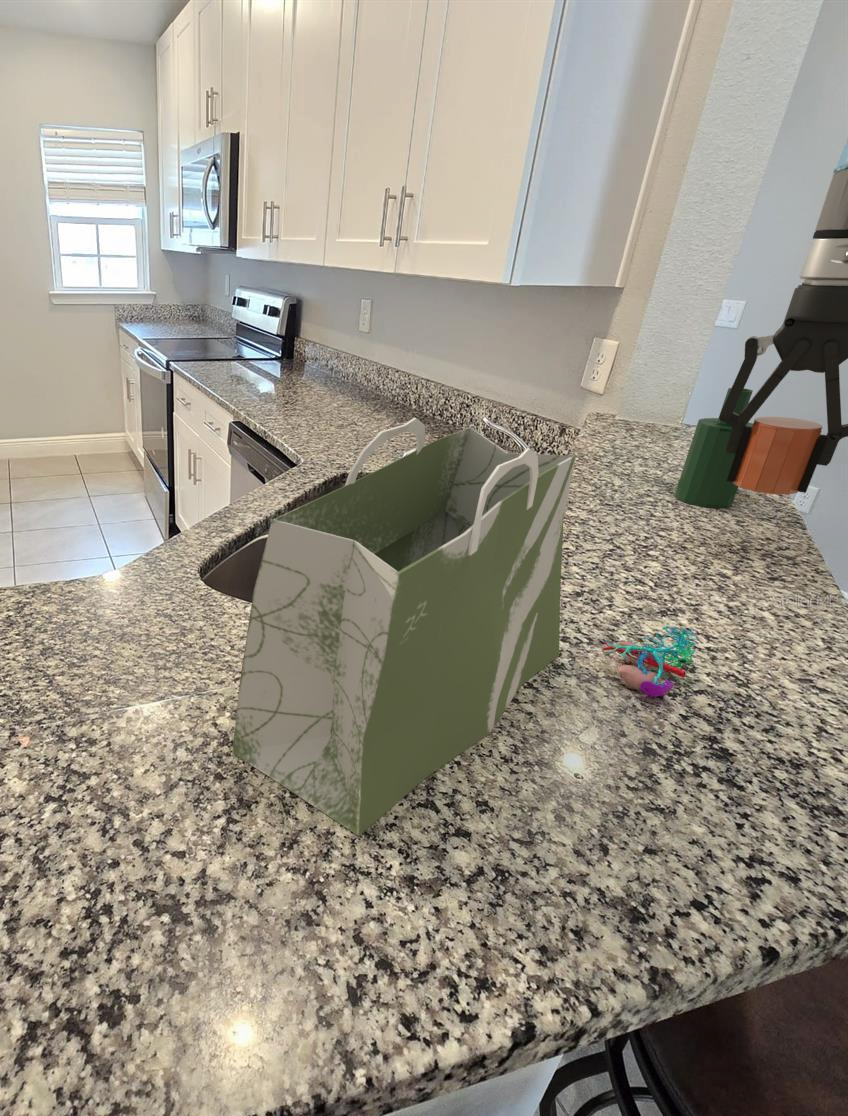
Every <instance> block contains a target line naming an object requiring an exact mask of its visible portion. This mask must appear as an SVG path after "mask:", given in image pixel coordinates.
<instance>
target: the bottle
mask: <svg viewBox="0 0 848 1116" xmlns="http://www.w3.org/2000/svg"><path fill="white" fill-rule="evenodd" d="M731 388H732V387H729V388H728V389H727V391H726V395H725V396H724V401H723V403H722V407H721V410H720V412H719V414H720V413H721V411H722V409H723V406H724V404H725V402H726V400H727V397H728V395H729V393H730V390H731ZM752 395H753V389H749V388H744V389H743V391H742V393H741V396H740V398H739V400H738V402H737V404H736V407H735V409H734V411H733V412H735V413H737V414H741V412H742V411H743V410H744V408H745V407H746V406H747V405H748V403H749V402H750V401H751V397H752ZM753 423H754V422H750V421H749V422H748V423H747V424H746V426H748V427H752V426H753ZM731 432H732V426H731V425H730V424H728V423H726V422H723V421H721V420H720V419H719V417H704V418H700V419H699V420H698V421H697V424H696V427H695V430H694V433H693V437H692V439H691V443H690V445H689V449H688V452H687V455H686V459H685V462H684V464H683V468H682V471H681V474H680V477H679V480H678V484H677V485H676V486H677V487H676V489H675V493H674V497H675V498H676V499H677V500H678V501H681V502H683V503H685V504H689V505H692V506H696V507H703V508H711V509H725V508H726V509H727V508H730V507H732V505H733V503H734V501H735V498H736V495H737V493H738V490H739V488H740V487H739V486H737V485H735V484H734V483H733V482H730V481H727V478H728V475H729V472H730V469H731V466H732V463H733V460H734V457H735V454H732V453H727V451H726V448H727V445H728V441H729V438H730V435H731Z"/></svg>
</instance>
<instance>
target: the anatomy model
mask: <svg viewBox="0 0 848 1116" xmlns="http://www.w3.org/2000/svg"><path fill="white" fill-rule="evenodd" d="M661 629H662V630H664V631H665V632H664V635H663V637H660V636H659V632H656V633H655V637H656V638H658V640H659V641H660V642H659V641H657V640H656V639H654V638H653V637H652V636H651V638H650V637H649V638H648V637H645V636H643V637H642V639H644V640H650V641H652V642H654V643H649V642H647V643H644V642H642V646H640V645H639V644H636V643H633V642H630V641H625V640H623V641H618V642H617V643H616V644H615V643H611V642H608V641H604V642H603V643H604V646H606V647H602V650H601V651H602V652H603V651H606V653H607V654H609V653H612V652H617V653H618V654H620V655H621V656H622V658H623V659H624V660H628V661H629V662H631V663H632V664H635V665H636V666H635V665H630V664H623V665H620V666H619V667H618V668H617V673H618V675H619V677H620V678H621V679H623V681H625V682H626V683H628V684H629V685H631V686H633V687H634V688H636V689H639V690H640V691H641V692H642V693H643V694H644V695H645V696H647V697H650V698H656V697H663V696H664V695H666V694H668V692H669V691H670V690H672V689H673V687H674V686H675V682H672V681H671V680H668V679H665V680H664V681H663V682H662V677H661V675H662V674H666V672H668V673H670V674H674V675H676V676H678V677H680V678H682V679H684V678H685V677H686V671H685V670H682V665H684V664H691V663H693V661H692V659H693V658H696V656H695V655H694V654H695V653H696V651H697V650H696V649H692V648H694V646H696V645H697V643H696V641H698V640H699V638H691V639H690V637H695V636H696V637H699V635H697V634H695V633H694V632H693V631H694V630H693V629H691V630H689V631H688V630H687V631H686V629H687V628H686V627H685V628H682V627H677V628H676V627H674V626H672V627H671V626H668V625H666V626H663V627H662V628H661ZM668 629H670V630H671V631H669V630H668ZM666 633H668V634H669V635H670V637H671V639H673V640H675V642H672V645H671V646H669V647H668V646H667V645H665V641H663V640H664V639H665V638H666V637H667V634H666ZM655 643H656V644H655ZM647 644H648V645H647ZM680 657H681V658H680ZM668 661H670V662H668ZM647 669H648V670H647ZM651 669H652V670H658V671H656V672H658V673H656V672H654V671H650V670H651Z"/></svg>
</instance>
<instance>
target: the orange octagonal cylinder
mask: <svg viewBox="0 0 848 1116" xmlns="http://www.w3.org/2000/svg"><path fill="white" fill-rule="evenodd" d="M752 423H753V426H752V429H751V432H750V435H749V438H748V441H747V444H746V447H745V450H744V453H743V456H742V458H741V461H740V464H739V467H738V470H737V473H736V476H735V479H734V482H733V483H734V484H735V485H737V486H739V487H738V488H741V489H744V490H748V491H751V492H755V493H761V494H762V493H764V494H768V495H781V496H782V495H783V496H788V495H793V494H794V495H795V494H798V493H799V492H798V490H799V487H800V485H801V482H802V480H803V477H804V475H805V472H806V469H807V467H808V464H809V462H810V459H811V457H812V454H813V451H814V449H815V446H816V444H817V441H818V439H819V437H820V435H822V434H821V433H822V430H823V425H822V424H821V423H819V422H816V421H812V420H806V419H801V418H794V417H785V416H759V417H756V418H754V420H753V422H752Z"/></svg>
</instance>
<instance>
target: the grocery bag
mask: <svg viewBox="0 0 848 1116" xmlns="http://www.w3.org/2000/svg"><path fill="white" fill-rule="evenodd" d="M409 432H411V433H413V434H414V435H415V439H416V440H415V442H416V445H415V450H414V451H412V452H410V453H408V454H406V455H404V456H402V457H401V458H399V459H396V460H395V461H393V462H391V463H388V464H387V465H385V466H382V467H381V468H379V469H377V470H374V471H372V472H370V473H369V474H366V475H364V476H362V477H360V478H358V474H359V472H360V471H361V469H362V467H363V465H365V464H364V463H365V462H366V461H367V459H368V458H369V457H370V455H372V454H373V453H374V452H375V451H376V450H377V449H378V448H379V447H380V446H381V445H382V444H383V443H385V442H387V441H388V440H389V439H392V438H393V437H395V436H397V435H399V434H404V433H409ZM576 459H577V455H570V454H569V455H566V454H565V455H564V454H545V453H543V454H541V453H535V452H534V451H533V450H532V449H531V448H528V447H527V448H526V449H524V451H523V452H521V453H518V452H508V451H506V450H505V449H503V448H502V447H501V446H499V445H498V444H496V443H495V442H493V441H491V440H490V439H489V438H487V437H486V436H484V435H483V434H481V433H480V432H478V431H477V430H476V429H474V428H473V427H472V426H471V427H470V426H469V427H466V428H464V429H462V430H459V431H456V432H454V433H451V434H448V435H446V436H443V437H441V438H438V439H435V440H433V441H431V442H429V443H427V444H426V425H425V424H424V423H423V421H421V420H419V419H418V418H417V417H413V418H411V419H410V420H408V421H407V422H405V423H404V424H402V425H398V426H395V427H391V428H387V429H384V430H381V431H379V432H378V433H377V434H376V436H375V437H373V439H372V440H371V441H370V442H369V443H368V444H366V446H365V447H363V449H362V450H361V451H360V453H359V455H358V457H357V458H356V460H355V462H354V464H353V465H352V467H351V468H350V471H349V472H348V475H347V477H346V481H345V484H344V485H343V486H342V487H340V488H337V489H335V490H333V491H330V492H329V493H327V494H325V495H322V496H320V497H318V498H316V499H314V500H312V501H310V502H307V503H305V504H303V505H301V506H299V507H297V508H295V509H292V510H290V511H288V512H286V513H284V514H282V515H280V516H277V517H275V518H272V520H271V522H270V527H269V530H268V534H267V538H266V542H265V545H264V548H263V549H264V550H263V553H262V557H261V562H260V564H259V569H258V572H257V577H256V580H255V584H254V588H253V592H252V599H251V606H250V607H251V608H250V613H249V619H248V625H247V631H246V637H245V645H244V651H243V657H242V664H241V671H240V678H239V686H238V696H237V704H236V715H235V723H234V733H233V742H232V752H231V753H232V754H234V755H235V756H236V757H238V758H240V759H241V760H243V761H244V762H246V763H247V764H248V765H251V767H253V768H255V769H256V770H257V771H260V772H261V773H263V775H265V776H267V777H268V778H270V779H272V780H273V781H274V782H276V783H277V784H279V785H281V786H282V787H284V788H285V789H286V790H288V791H289V792H291V793H292V794H294V795H295V796H297V797H299V798H300V799H302V800H303V801H305V802H306V803H308V804H309V805H311V806H312V807H314V808H315V809H317V810H318V811H320V812H321V813H323V814H324V815H326V816H328V817H329V818H331V819H332V820H334V821H335V822H336V823H338V824H340V825H341V826H342V827H344V828H346V829H347V830H348V831H351V832H352V833H354V834H355V835H356V836H358V837H359V836H361V835H362V834H363V833H364V832H366V830H368V829H369V828H370V827H372V825H373V824H374V823H376V822H377V821H378V820H379V819H380V818H382V816H384V815H385V814H386V813H387V812H389V811H390V810H391V809H392V808H393V807H395V805H397V804H398V803H399V802H400V801H402V800H403V799H404V798H405V797H406V796H407V795H408V794H410V792H411V791H413V790H414V789H415V788H416V787H417V786H418V785H420V784H421V783H422V782H423V781H424V780H425V779H426V778H428V777H429V776H431V775H432V774H434V773H435V772H436V771H438V770H439V769H441V768H442V767H443V766H445V765H447V764H449V762H451V761H452V760H453V759H454V760H455V758H457V757H458V756H459V755H461V754H462V753H464V752H465V751H467V750H468V749H469V748H471V747H472V746H473V745H475V744H477V743H478V742H479V741H481V740H483V739H484V738H486V737H487V736H488V735H490V734H491V732H492V730H493V729H494V728H495V726H496V725H497V723H498V722H499V720H500V718H501V717H502V715H503V714H504V712H505V711H506V710H507V708H508V706H509V705H510V703H511V702H512V700H513V699H514V697H515V696H516V694H517V693H518V691H519V690H520V688H521V687H522V685H524V684H525V683H526V682H528V681H529V680H531V678H533V677H534V676H535V675H537V674H538V673H539V672H540V671H542V670H544V668H545V667H547V666H548V665H550V664H551V663H552V662H553V661H555V660H556V659H557V658H559V656H560V633H561V632H560V629H561V628H560V627H561V625H560V624H561V623H560V622H561V621H560V620H561V585H562V563H563V542H564V541H563V540H564V521H565V516H566V510H567V505H568V499H569V495H570V490H571V484H572V478H573V474H574V468H575V463H576ZM357 478H358V479H357Z"/></svg>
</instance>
